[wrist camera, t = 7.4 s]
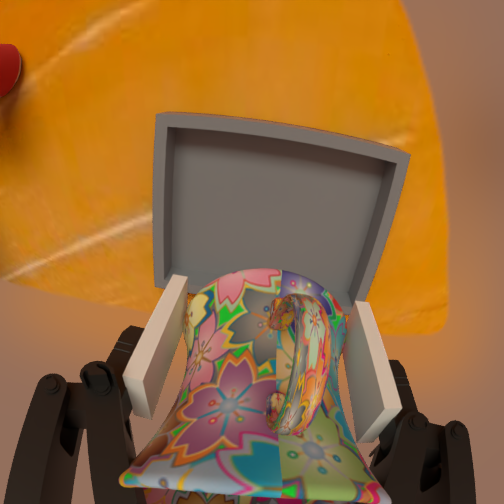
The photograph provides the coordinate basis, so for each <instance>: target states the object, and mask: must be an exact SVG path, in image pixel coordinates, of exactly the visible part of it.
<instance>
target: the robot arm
mask: <svg viewBox="0 0 504 504" xmlns="http://www.w3.org/2000/svg"><path fill="white" fill-rule="evenodd" d="M187 292H188V277H187V276H181V275H175V274H173V275H172V277H171V279H170V281H169V283H168V285H167V287H166V288H165V290H164V292H163V294H162V296H161V298H160V300H159V302H158V304H157V306H156V308H155V310H154V312H153V314H152V316H151V318H150V320H149V322H148V323H147V325H146V328H140V327H136V326H129V327H128V328H127V329H126V330H124V331H123V332H122V334H121V335H120V337H119V339H118V342H116V344H115V346H114V349H113V350H112V352H111V353H110V356H109V357H108V359H107V361H106V363H105V362H102V361H94V362H90V363H88V364H86V365H85V366H84V367H83V368H82V369H81V372H80V378H81V380H82V383H71V382H66V380H65V379H64V378H63V377H62V376H61V375H58V374H48V375H45V376H44V377H42V378H41V379H40V381H39V382H38V385H37V387H36V390H35V392H34V395H33V398H32V401H31V403H30V406H29V409H28V412H27V415H26V418H25V421H24V425H23V428H22V431H21V434H20V437H19V441H18V444H17V448H16V451H15V455H14V459H13V463H12V467H11V471H10V475H9V479H8V484H7V489H6V494H5V499H4V504H71V499H72V493H73V485H74V479H75V472H76V467H77V461H78V455H79V450H80V445H81V439H82V434H83V430H84V429H87V443H88V455H89V464H90V473H91V481H92V487H93V495H94V501H95V504H147V502H146V498H145V494H144V490H143V487H132V488H127V487H123V486H121V485H120V484H119V477H120V475H121V474H122V473H123V472H125V471H126V470H127V469H128V468H129V467H130V465H131V462H132V461H133V460H134V459H135V458H136V453H135V447H134V442H133V436H132V430H131V423H130V419H129V416H130V413H131V410H133V413H134V415H136V416H140V417H143V418H147V419H151V420H152V417H153V414H154V411H155V408H156V405H157V402H158V399H159V397H160V394H161V391H162V388H163V385H164V382H165V379H166V376H167V373H168V370H169V368H170V365H171V362H172V359H173V356H174V354H175V350H176V348H177V345H178V342H179V340H180V337H181V334H182V332H183V323H184V316H185V312H186V310H187ZM342 353H343V359H344V364H345V370H346V375H347V381H348V387H349V393H350V400H351V406H352V413H353V419H354V426H355V433H356V441H357V443H368V442H369V443H370V442H374V440H375V439H376V438H377V437H378V436H379V440H380V444H379V445H378V446H377V447H376V448H375V449H374V450H373V451H372V452H371V453H370V455H369V457H371V456H372V455H373V454H374V456H373V459H372V462H371V465H370V467H369V469H370V471H371V472H372V474H373V475H374V477H375V478H376V479H377V481H378V482H379V484H380V485H381V486H382V487H383V489H384V490H385V491H386V493H387V494H388V495H389V497H390V499H391V502H392V503H391V504H476V492H475V479H474V469H473V462H472V453H471V446H470V439H469V434H468V430H467V428H466V427H465V425H464V424H463V423H461V422H460V421H456V420H455V421H450V422H449V423H448V424H447V425H446V426H441V425H436V424H432V423H429V421H428V419H427V418H426V417H425V416H424V415H423V414H422V413H420V412H418V410H417V407H416V403H415V400H414V397H413V394H412V390H411V387H410V386H409V381H408V379H407V375H406V373H405V369H404V367H403V366H402V365H401V364H400V362H399V361H398V360H388V358H387V355H386V351H385V348H384V345H383V342H382V339H381V336H380V333H379V330H378V327H377V324H376V322H375V319H374V316H373V313H372V310H371V307H370V305H369V302H362V301H355V303H354V305H353V308H352V310H351V313H350V316H349V318H348V321H347V337H346V343H345V346H344V349H343V351H342ZM355 504H367V503H360V502H356V503H355Z"/></svg>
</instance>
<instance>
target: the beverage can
mask: <svg viewBox="0 0 504 504" xmlns="http://www.w3.org/2000/svg"><path fill="white" fill-rule="evenodd" d="M20 71H21V57H20V55H19V52H18V50H17V48H16V47H15V46H14V45H12V44H0V97H3V96H5V95H6V94H7V93H8V92H9V91H10V90H11V89H12V87H13V86H14V84H15V83H16V81H17V80H18V77H19V75H20Z"/></svg>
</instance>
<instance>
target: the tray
mask: <svg viewBox="0 0 504 504" xmlns="http://www.w3.org/2000/svg"><path fill="white" fill-rule="evenodd" d="M410 155H411V154H409V153H407V152H404V151H402V150H400V149H398V148H395V147H392V146H388V145H384V144H381V143H377V142H373V141H369V140H365V139H361V138H357V137H352V136H348V135H343V134H339V133H334V132H329V131H324V130H319V129H314V128H309V127H303V126H298V125H292V124H286V123H279V122H273V121H266V120H258V119H251V118H242V117H233V116H224V115H213V114H201V113H186V112H164V113H158V114H156V124H155V141H154V163H153V258H154V281H155V287H158V288H164V289H165V288H166V287H167V285H168V283H169V281H170V279H171V277H172V275H173V274H175V275H181V276H187V277H188V292H187V293H192V294H197V293H198V292H199V291H200V290H201V289H202V288H204V287H205V286H206V285H207V284H209V283H210V282H212V281H214V280H215V279H217V278H219V277H222V276H224V275H226V274H229V273H233V272H236V271H241V270H246V269H257V268H268V269H279V270H284V271H289V272H293V273H296V274H299V275H302V276H304V277H307V278H309V279H311V280H313V281H314V282H316V283H318V284H319V285H321V286H322V287H323V288H325V289H326V290H327V291H328V292H329V293H330V294H331V295H332V296H333V297H334V298H335V300H336V301H337V302H338V304H339V305H340V307H341V309H342V311H343V313H344V315H350V313H351V310H352V308H353V305H354V303H355V301H362V302H365V299H366V296H367V294H368V291H369V289H370V286H371V283H372V281H373V278H374V275H375V272H376V270H377V267H378V264H379V261H380V258H381V255H382V253H383V250H384V247H385V244H386V241H387V238H388V234H389V231H390V228H391V225H392V222H393V218H394V215H395V212H396V208H397V205H398V201H399V198H400V194H401V191H402V187H403V183H404V180H405V176H406V172H407V168H408V164H409V160H410Z"/></svg>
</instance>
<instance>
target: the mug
mask: <svg viewBox="0 0 504 504" xmlns="http://www.w3.org/2000/svg"><path fill="white" fill-rule="evenodd" d="M183 334H184V339H185V342H186V345H187V351H188V358H187V366H186V372H185V376H184V380H183V383H182V386H181V389H180V391H179V394H178V396H177V399H176V401H175V403H174V405H173V407H172V409H171V411H170V413H169V414H168V416H167V418H166V420H165V421H164V422H163V424H162V426H161V427H160V429H159V430H158V431H157V433H156V434H155V435H154V437H153V438H152V440H151V441H150V442H149V443H148V445H147V446H146V447H145V448H144V449H143V450H142V451H141V452H140V454H139V455H138V456H137V457H136V458H135V459H134V460H133V461H132V462H131V465H130V467H129V468H128V469H127V470H126V471H125V472H123V473H122V474H121V475H120V477H119V484H120V485H121V486H123V487H127V488H132V487H143V490H144V494H145V498H146V502H147V504H355V503H356V502H360V503H367V504H391V503H392V502H391V499H390V497H389V495H388V494H387V493H386V491H385V490H384V489H383V487H382V486H381V485H380V484H379V482H378V481H377V479H376V478H375V477H374V475H373V474H372V472H371V471H370V469H369V467H368V466H367V464H366V462H365V461H364V459H363V457H362V455H361V454H360V452H359V450H358V448H357V446H356V444H355V442H354V439H353V437H352V435H351V432H350V430H349V427H348V425H347V422H346V419H345V416H344V412H343V409H342V405H341V400H340V395H339V388H338V363H339V359H340V355H341V354H342V351H343V349H344V346H345V343H346V337H347V323H346V319H345V315H344V313H343V311H342V309H341V307H340V305H339V304H338V302H337V301H336V300H335V298H334V297H333V296H332V295H331V294H330V293H329V292H328V291H327V290H326V289H325V288H323V287H322V286H321V285H319V284H318V283H316V282H314V281H313V280H311V279H309V278H307V277H304V276H302V275H299V274H296V273H293V272H289V271H284V270H279V269H268V268H257V269H246V270H241V271H236V272H233V273H229V274H226V275H224V276H222V277H219V278H217V279H215V280H214V281H212V282H210V283H209V284H207V285H206V286H205V287H204V288H202V289H201V290H200V291H199V292H198V293H197V294H196V295H195V297H194V298H193V299H192V301H191V302H190V304H189V306H188V307H187V310H186V312H185V316H184V323H183Z"/></svg>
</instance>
